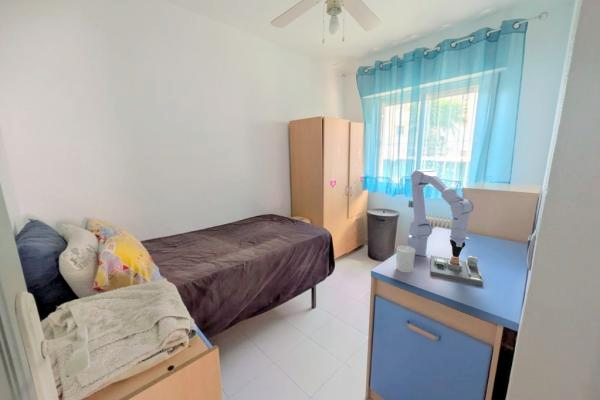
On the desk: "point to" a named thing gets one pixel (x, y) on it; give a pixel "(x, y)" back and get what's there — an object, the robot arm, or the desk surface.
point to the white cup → (405, 258)
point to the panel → (455, 271)
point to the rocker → (440, 261)
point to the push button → (454, 260)
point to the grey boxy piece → (472, 261)
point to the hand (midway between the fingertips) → (455, 256)
